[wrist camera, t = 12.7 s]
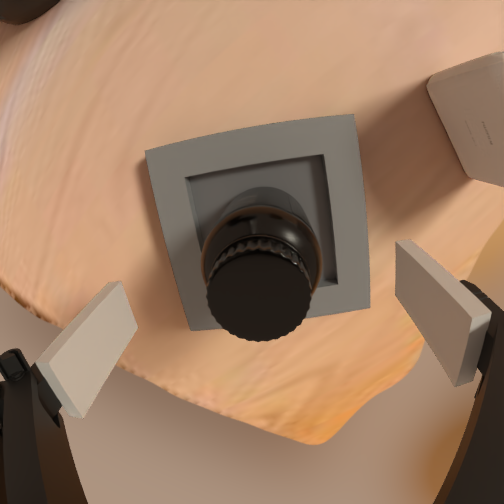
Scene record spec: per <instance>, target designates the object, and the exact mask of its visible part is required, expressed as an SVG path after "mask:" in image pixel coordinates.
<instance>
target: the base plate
mask: <svg viewBox="0 0 504 504" xmlns="http://www.w3.org/2000/svg"><path fill="white" fill-rule="evenodd" d="M145 156H146V161H147V165H148V170H149V175H150V180H151V184H152V189H153V193H154V198H155V202H156V206H157V211H158V215H159V219H160V223H161V227H162V231H163V235H164V239H165V243H166V247H167V251H168V255H169V258H170V262H171V266H172V269H173V273H174V277H175V280H176V284H177V287H178V291H179V294H180V297H181V301H182V304H183V308H184V311H185V314H186V317H187V321H188V324H189V327H190V330H191V331H200V330H211V329H222V327H221V325H220V324H218V323H217V322H216V320H215V318H214V317H213V316H212V315H211V310H210V309H209V307H208V306H207V305H208V300H207V298H206V293H207V289H206V285H205V283H204V280H203V277H202V273H201V253H202V249H203V245H204V243H205V240H206V238H207V236H208V234H209V232H210V231H211V229H212V228H213V226H214V225H215V223H216V222H217V220H218V219H219V217H220V216H221V215H222V213H223V212H224V210H225V209H226V207H227V206H228V205H229V203H230V202H231V201H232V200H233V199H234V198H235V197H236V196H238V195H239V194H241V193H242V192H244V191H246V190H248V189H251V188H255V187H274V188H278V189H280V190H283V191H285V192H287V193H288V194H290V195H291V196H292V197H294V198H295V199H296V200H297V201H298V202H299V204H300V205H301V206H302V208H303V210H304V212H305V213H306V216H307V218H308V220H309V222H310V224H311V226H312V229H313V231H314V233H315V235H316V237H317V240H318V242H319V245H320V249H321V253H322V260H323V269H322V275H321V279H320V282H319V285H318V287H317V289H316V291H315V293H314V294H313V296H312V300H311V302H310V309H309V310H308V311H307V315H306V317H305V318H312V317H318V316H325V315H331V314H337V313H344V312H350V311H355V310H361V309H367V308H370V267H369V245H368V229H367V215H366V203H365V193H364V183H363V174H362V166H361V158H360V150H359V143H358V136H357V130H356V124H355V118H354V114H349V115H337V116H327V117H318V118H309V119H301V120H293V121H286V122H279V123H272V124H266V125H260V126H254V127H248V128H243V129H237V130H232V131H227V132H222V133H217V134H212V135H207V136H203V137H198V138H194V139H189V140H185V141H181V142H177V143H173V144H169V145H165V146H161V147H157V148H153V149H150V150H146V151H145ZM305 318H304V319H305Z"/></svg>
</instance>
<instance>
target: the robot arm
mask: <svg viewBox="0 0 504 504" xmlns="http://www.w3.org/2000/svg"><path fill="white" fill-rule="evenodd" d="M58 1H59V0H0V21H2V22H5V23H9V24H14V25H17V24H23V23H26V22H28V21H31V20H33V19H35V18H37V17H38V16H40V15H41V14H43V13H44V12H46V11H47V10H48V9H50V8H51V7H52V6H53V5H55V4H56V3H57V2H58ZM395 243H396V281H395V295H396V297H397V298H398V300H399V301H400V303H401V304H402V306H403V307H404V308H405V310H406V311H407V313H408V314H409V316H410V317H411V319H412V320H413V322H414V323H415V325H416V326H417V328H418V329H419V331H420V332H421V334H422V335H423V337H424V338H425V340H426V341H427V343H428V345H429V346H430V348H431V349H432V351H433V352H434V354H435V356H436V357H437V359H438V360H439V362H440V363H441V365H442V367H443V369H444V370H445V372H446V373H447V375H448V377H449V378H450V380H451V382H452V383H453V385H454V387H457V386H460V385H463V384H466V383H469V382H471V381H473V379H474V376H475V373H476V370H477V368H478V369H479V370H480V372H481V373H482V378H481V381H480V383H479V386H478V389H477V391H476V394H475V402H474V405H473V408H472V411H471V415H470V418H469V421H468V424H467V427H466V429H465V432H464V435H463V438H462V440H461V443H460V446H459V448H458V451H457V453H456V456H455V458H454V460H453V463H452V465H451V467H450V470H449V472H448V474H447V476H446V479H445V481H444V483H443V485H442V487H441V489H440V491H439V493H438V495H437V497H436V499H435V501H434V503H433V504H504V311H503V310H502V309H500V307H498V306H497V305H496V304H495V303H494V302H493V301H492V300H491V299H490V298H488V297H487V295H485V294H484V293H482V291H481V290H480V289H479V288H478V287H477V286H476V285H474V284H472V283H470V282H468V281H465V280H461V281H458V280H457V279H456V278H455V277H454V276H453V275H452V274H451V273H450V272H448V271H447V270H446V269H445V268H444V267H443V266H442V265H440V264H439V263H438V262H437V261H436V260H435V259H433V258H432V257H431V256H430V255H429V254H428V253H426V252H425V251H424V250H423V249H422V248H420V247H419V246H418V245H417V244H416V243H414V242H413V241H412V240H411V239H408V240H401V241H395ZM137 329H138V326H137V323H136V321H135V318H134V315H133V313H132V310H131V307H130V305H129V302H128V299H127V296H126V294H125V291H124V288H123V285H122V282H121V281H116V282H109V283H108V284H107V285H106V286H105V287H104V288H103V289H102V290H101V291H100V292H99V293H98V294H97V295H96V296H95V297H94V298H93V299H92V300H91V301H90V302H89V303H88V304H87V305H86V306H85V307H84V308H83V309H82V310H81V311H80V313H79V314H78V315H77V316H76V317H75V318H74V319H73V320H72V321H71V322H70V323H69V324H68V325H67V326H66V328H65V329H64V330H63V331H62V332H61V333H60V334H59V335H58V336H57V337H56V338H55V340H54V341H53V342H52V343H51V344H50V345H49V346H48V347H47V349H46V350H45V351H44V352H43V353H42V354H41V355H40V357H39V358H38V359H37V360H36V361H35V363H34V364H33V365H32V366H31V368H30V366H29V364H28V363H27V361H26V359H25V357H24V356H23V354H22V352H21V350H20V349H11V350H8V351H6V352H4V353H3V354H2V355H0V373H1V374H2V376H3V377H4V379H5V381H1V382H0V504H88V502H87V500H86V497H85V494H84V491H83V488H82V485H81V483H80V479H79V476H78V473H77V470H76V467H75V464H74V460H73V457H72V453H71V450H70V446H69V442H68V439H67V434H66V430H65V425H64V421H63V418H62V416H61V414H60V413H59V410H60V408H61V407H62V406H63V407H64V409H65V411H66V412H67V413H68V415H69V416H71V417H77V418H83V419H84V417H85V415H86V414H87V412H88V410H89V408H90V407H91V405H92V403H93V401H94V400H95V398H96V396H97V394H98V393H99V391H100V389H101V388H102V386H103V384H104V383H105V381H106V379H107V377H108V376H109V374H110V373H111V371H112V369H113V368H114V366H115V364H116V363H117V361H118V359H119V358H120V356H121V355H122V353H123V351H124V350H125V348H126V346H127V345H128V343H129V342H130V340H131V338H132V337H133V335H134V334H135V332H136V330H137Z"/></svg>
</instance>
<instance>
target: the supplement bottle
mask: <svg viewBox="0 0 504 504" xmlns="http://www.w3.org/2000/svg"><path fill="white" fill-rule="evenodd" d="M322 269H323V260H322V253H321V249H320V245H319V242H318V240H317V237H316V235H315V233H314V231H313V229H312V226H311V224H310V222H309V220H308V218H307V216H306V213H305V212H304V210H303V208H302V206H301V205H300V204H299V202H298V201H297V200H296V199H295V198H294V197H292V196H291V195H290V194H288V193H287V192H285V191H283V190H280V189H278V188H274V187H255V188H251V189H248V190H246V191H244V192H242V193H241V194H239V195H238V196H236V197H235V198H234V199H233V200H232V201H231V202H230V203H229V205H228V206H227V207H226V209H225V210H224V212H223V213H222V215H221V216H220V217H219V219H218V220H217V222H216V223H215V225H214V226H213V228H212V229H211V231H210V232H209V234H208V236H207V238H206V240H205V243H204V245H203V249H202V253H201V273H202V277H203V280H204V283H205V285H206V289H207V293H206V298H207V300H208V305H207V306H208V307H209V309H210V310H211V315H212V316H213V317H214V318H215V320H216V322H217V323H218V324H220V325H221V327H222V328H223V329H225V330H227V331H228V332H229V333H230V334H232V335H236V336H237V337H238V338H242V339H246V340H248V341H253V340H254V341H257V342H260V341H270V340H272V339H278V338H280V337H281V336H286V335H287V334H288V333H289V332H292V331H294V330H295V328H296V327H297V326H299V325H300V324H301V323H302V320H303V319H304V318H305V317H306V315H307V311H308V310H309V309H310V302H311V300H312V296H313V294H314V293H315V291H316V289H317V287H318V285H319V282H320V279H321V275H322Z"/></svg>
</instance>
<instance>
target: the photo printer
mask: <svg viewBox="0 0 504 504" xmlns="http://www.w3.org/2000/svg"><path fill="white" fill-rule="evenodd" d="M426 87H427V90H428V93H429V95H430V98H431V100H432V102H433V104H434V106H435V108H436V110H437V113H438V115H439V117H440V119H441V121H442V123H443V125H444V127H445V129H446V132H447V134H448V136H449V138H450V140H451V142H452V145H453V147H454V149H455V151H456V153H457V156H458V158H459V160H460V162H461V165H462V167H463V169H464V171H465V172H466V174H467V176H468V177H470V178H472V179H475V180H479V181H483V182H486V183H490V184H494V185H498V186H501V187H504V52H495V53H492V54H488V55H485V56H482V57H479V58H476V59H473V60H470V61H467V62H465V63H462V64H459V65H456V66H454V67H451V68H448V69H446V70H443V71H440V72H438V73H435V74H434V75H432V76H431V78H430V79H429V81H428V84H427V85H426Z"/></svg>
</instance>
